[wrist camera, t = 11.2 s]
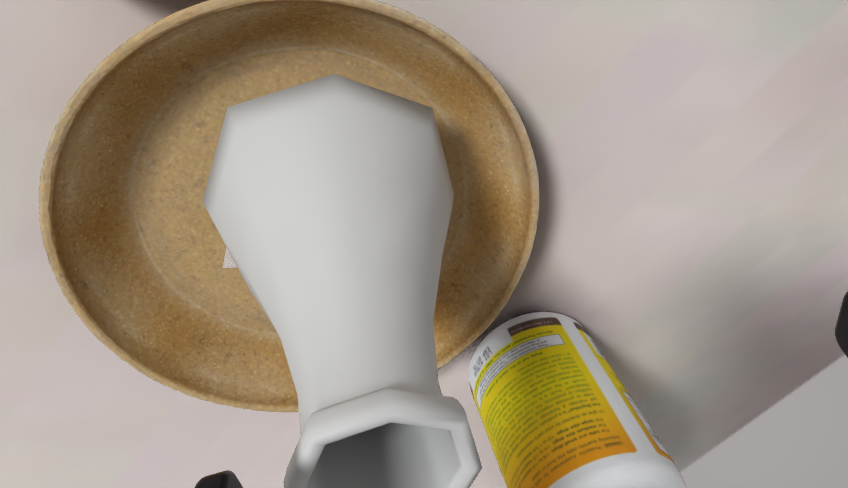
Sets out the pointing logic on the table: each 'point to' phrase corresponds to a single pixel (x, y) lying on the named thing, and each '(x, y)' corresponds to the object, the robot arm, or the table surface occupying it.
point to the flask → (348, 275)
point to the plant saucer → (191, 164)
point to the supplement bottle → (562, 410)
